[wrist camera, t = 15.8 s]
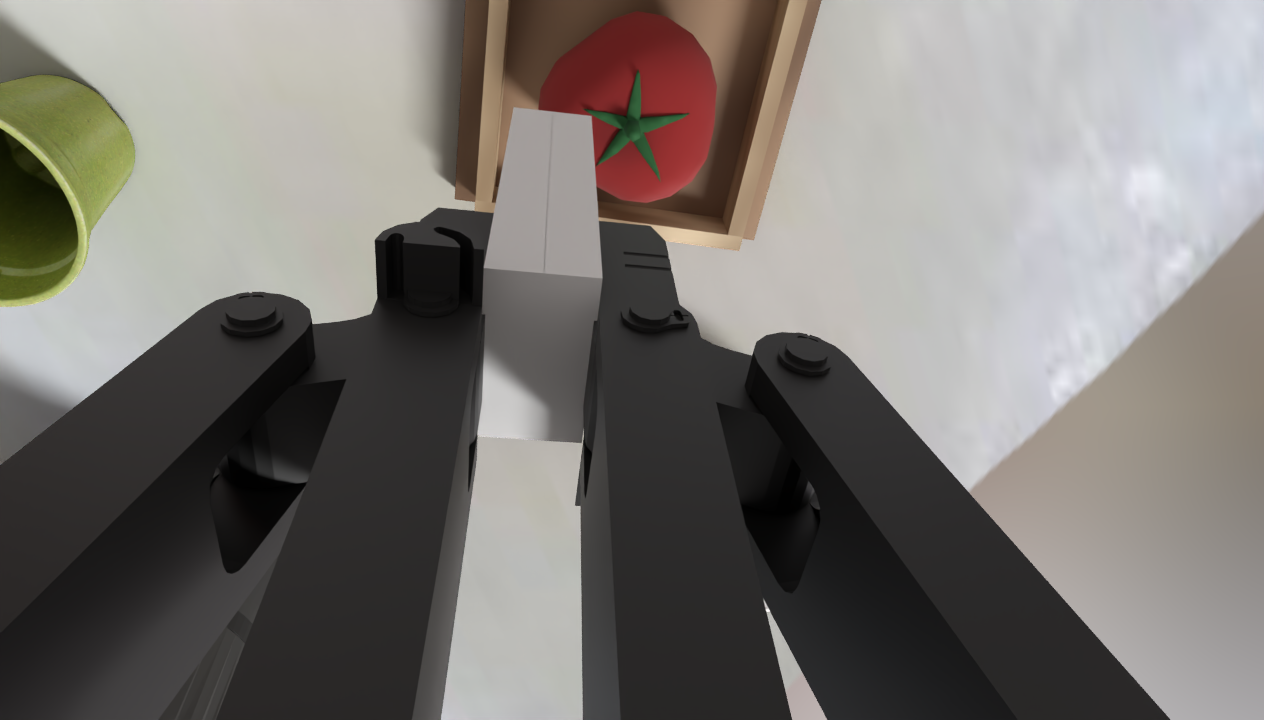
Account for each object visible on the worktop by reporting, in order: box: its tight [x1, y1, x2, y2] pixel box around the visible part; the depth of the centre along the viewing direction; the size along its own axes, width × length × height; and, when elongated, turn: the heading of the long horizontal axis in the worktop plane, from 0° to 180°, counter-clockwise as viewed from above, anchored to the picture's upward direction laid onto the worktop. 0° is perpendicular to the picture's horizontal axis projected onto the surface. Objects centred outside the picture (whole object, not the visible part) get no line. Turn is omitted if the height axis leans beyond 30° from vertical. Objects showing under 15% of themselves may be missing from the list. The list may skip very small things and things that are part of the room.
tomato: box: [538, 11, 717, 203], centre depth 36 cm, size 8×8×7 cm
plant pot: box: [0, 75, 135, 307], centre depth 37 cm, size 9×9×9 cm
